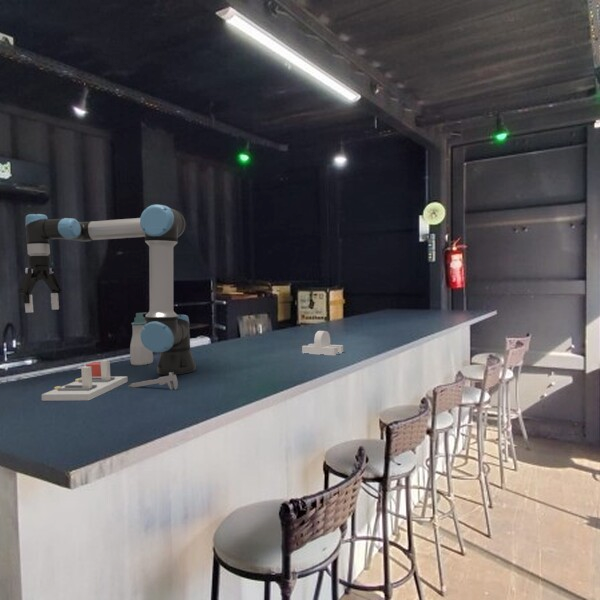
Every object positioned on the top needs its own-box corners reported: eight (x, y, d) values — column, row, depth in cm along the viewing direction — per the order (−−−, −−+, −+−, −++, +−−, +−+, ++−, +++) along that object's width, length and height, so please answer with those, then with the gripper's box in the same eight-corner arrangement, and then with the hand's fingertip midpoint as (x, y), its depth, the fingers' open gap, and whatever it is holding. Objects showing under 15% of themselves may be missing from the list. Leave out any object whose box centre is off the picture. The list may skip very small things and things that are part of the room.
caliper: (178, 390, 160) (177, 371, 160) (176, 390, 159) (175, 372, 159) (130, 386, 168) (129, 369, 167) (128, 387, 167) (127, 369, 166)
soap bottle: (158, 362, 213) (155, 312, 212) (140, 366, 205) (137, 314, 204) (143, 361, 219) (141, 312, 217) (125, 364, 210) (123, 313, 209)
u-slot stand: (335, 356, 216) (334, 332, 216) (301, 353, 226) (300, 331, 225) (344, 352, 224) (343, 330, 224) (311, 350, 234) (310, 329, 233)
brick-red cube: (108, 376, 185) (108, 361, 185) (101, 380, 179) (100, 364, 179) (95, 377, 186) (94, 361, 185) (86, 380, 180) (85, 364, 180)
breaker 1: (92, 387, 157) (91, 366, 157) (88, 388, 155) (87, 367, 155) (86, 387, 158) (84, 366, 157) (82, 388, 155) (81, 367, 155)
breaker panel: (127, 381, 175) (127, 374, 175) (89, 400, 149) (88, 391, 149) (86, 382, 177) (86, 374, 177) (41, 400, 151) (41, 392, 151)
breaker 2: (110, 379, 169) (109, 359, 169) (107, 380, 167) (106, 361, 167) (104, 379, 170) (103, 360, 169) (101, 380, 167) (100, 361, 167)
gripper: (53, 257, 193) (57, 308, 194) (4, 254, 169) (8, 313, 170) (69, 256, 192) (73, 308, 193) (22, 253, 167) (26, 313, 168)
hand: (42, 311), depth 181 cm, fingers open, 13 cm apart
